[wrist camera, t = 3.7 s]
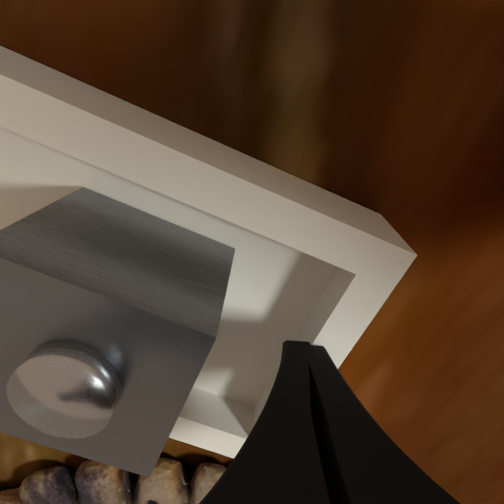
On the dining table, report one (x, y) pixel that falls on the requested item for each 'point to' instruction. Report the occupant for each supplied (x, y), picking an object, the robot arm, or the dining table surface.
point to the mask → (115, 485)
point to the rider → (104, 326)
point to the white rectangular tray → (206, 232)
